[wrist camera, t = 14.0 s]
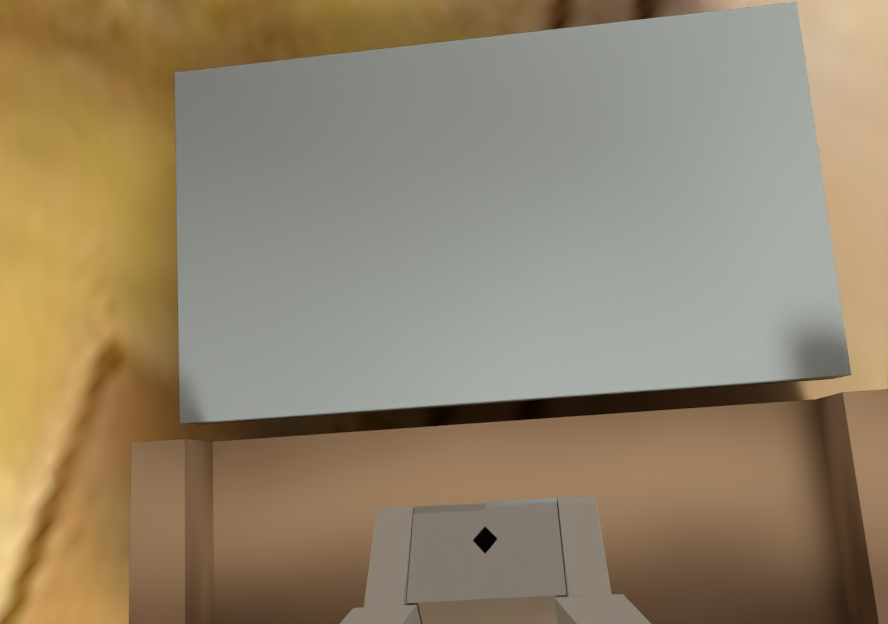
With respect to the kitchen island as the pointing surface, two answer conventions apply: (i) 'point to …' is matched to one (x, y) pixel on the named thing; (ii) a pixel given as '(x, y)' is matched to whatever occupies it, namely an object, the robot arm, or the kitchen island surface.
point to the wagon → (523, 478)
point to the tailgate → (504, 221)
